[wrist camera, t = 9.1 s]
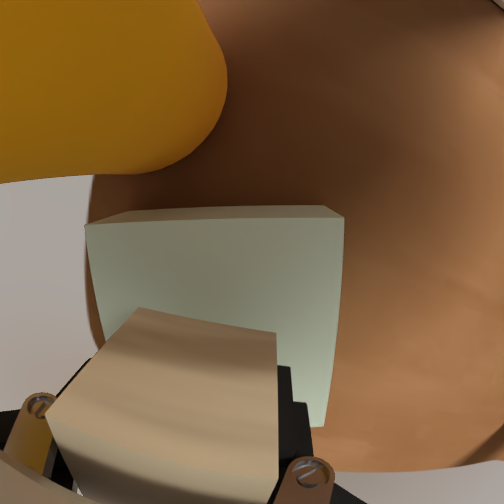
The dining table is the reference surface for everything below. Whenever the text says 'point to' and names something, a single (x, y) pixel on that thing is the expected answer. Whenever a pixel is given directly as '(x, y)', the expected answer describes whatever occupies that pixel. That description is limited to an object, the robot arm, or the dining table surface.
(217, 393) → the birch block
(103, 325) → the sage block
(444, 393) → the dining table surface
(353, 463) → the dining table surface
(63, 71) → the beer bottle
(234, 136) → the dining table surface
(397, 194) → the dining table surface
